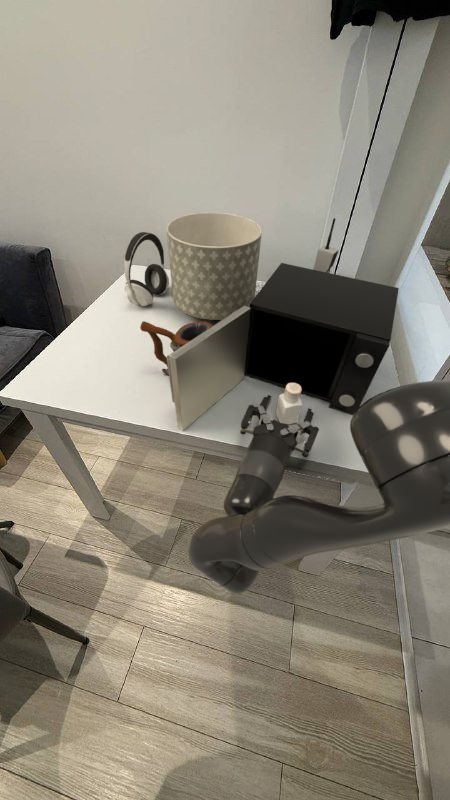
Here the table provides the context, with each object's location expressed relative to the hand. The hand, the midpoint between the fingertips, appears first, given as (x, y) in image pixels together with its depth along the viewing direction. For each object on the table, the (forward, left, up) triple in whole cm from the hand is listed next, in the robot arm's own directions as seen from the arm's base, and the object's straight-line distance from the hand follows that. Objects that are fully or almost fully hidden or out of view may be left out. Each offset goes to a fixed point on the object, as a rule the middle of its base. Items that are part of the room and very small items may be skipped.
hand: (288, 404), depth 67 cm
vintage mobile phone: (+6, -55, -6) cm, 56 cm away
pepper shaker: (0, -1, -6) cm, 6 cm away
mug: (+27, -3, -6) cm, 28 cm away
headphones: (+55, -31, -6) cm, 64 cm away
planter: (+34, -35, -6) cm, 50 cm away
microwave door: (+19, +1, -6) cm, 20 cm away
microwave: (0, -20, -6) cm, 21 cm away
